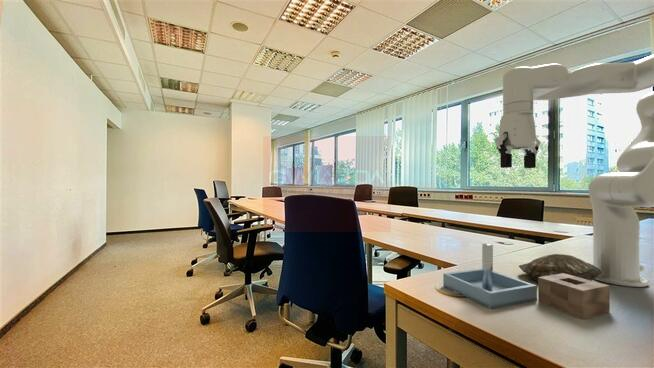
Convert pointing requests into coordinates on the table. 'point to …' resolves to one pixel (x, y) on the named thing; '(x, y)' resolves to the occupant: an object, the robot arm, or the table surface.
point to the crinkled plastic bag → (560, 267)
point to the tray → (503, 288)
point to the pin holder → (574, 295)
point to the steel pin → (487, 267)
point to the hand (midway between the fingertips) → (518, 167)
